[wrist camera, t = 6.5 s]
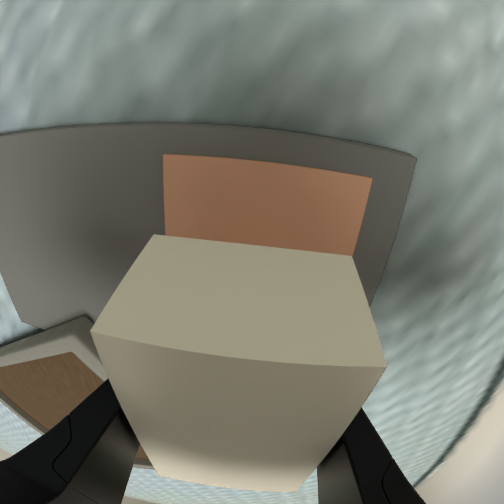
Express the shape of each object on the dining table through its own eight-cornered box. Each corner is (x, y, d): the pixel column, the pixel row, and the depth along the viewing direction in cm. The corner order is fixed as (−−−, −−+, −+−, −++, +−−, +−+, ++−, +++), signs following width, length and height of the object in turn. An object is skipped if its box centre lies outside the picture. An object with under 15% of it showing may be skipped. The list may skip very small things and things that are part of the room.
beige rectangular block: (177, 403, 12) (158, 475, 9) (153, 234, 8) (89, 331, 5) (295, 417, 12) (295, 492, 9) (352, 256, 8) (386, 366, 5)
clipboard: (-36, 366, 22) (103, 324, 12) (-30, 357, 23) (117, 300, 14) (73, 456, 30) (278, 470, 21) (76, 447, 32) (279, 454, 22)
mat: (-24, 139, 10) (-33, 143, 10) (410, 154, 10) (418, 159, 9) (26, 316, 17) (20, 322, 16) (335, 373, 16) (336, 382, 15)
